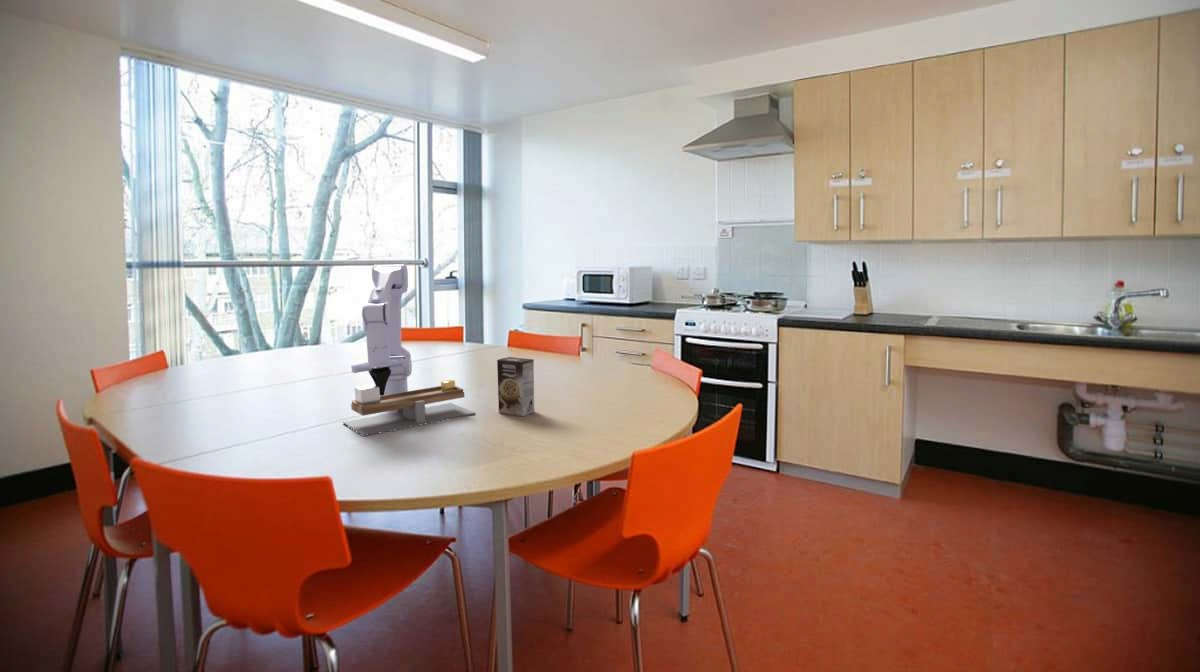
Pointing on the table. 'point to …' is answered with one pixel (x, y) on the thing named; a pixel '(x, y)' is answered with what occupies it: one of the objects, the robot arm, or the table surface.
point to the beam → (407, 400)
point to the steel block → (367, 394)
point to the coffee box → (515, 386)
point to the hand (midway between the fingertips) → (381, 395)
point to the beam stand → (408, 417)
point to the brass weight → (448, 385)
